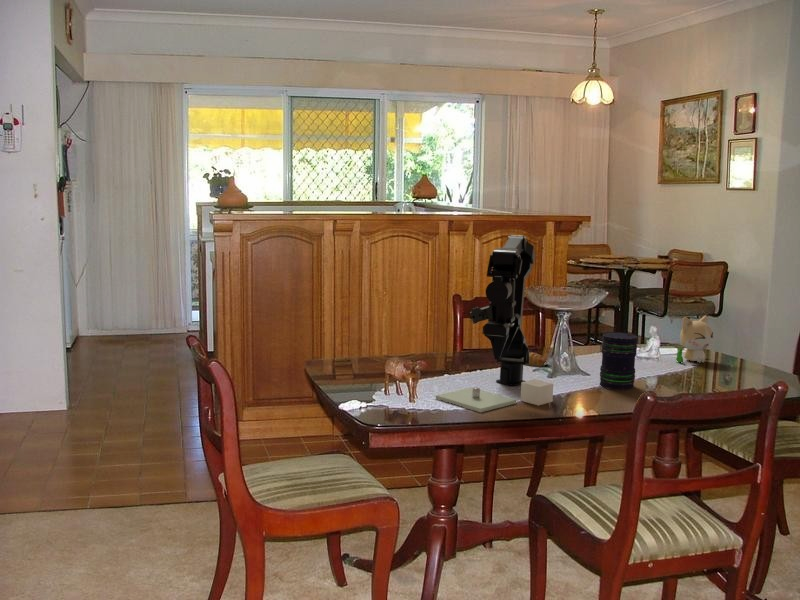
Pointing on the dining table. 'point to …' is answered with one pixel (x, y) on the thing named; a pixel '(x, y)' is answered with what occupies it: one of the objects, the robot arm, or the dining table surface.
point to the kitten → (695, 339)
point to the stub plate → (476, 399)
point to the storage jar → (618, 360)
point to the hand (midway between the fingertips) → (500, 355)
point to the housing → (536, 392)
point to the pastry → (536, 359)
